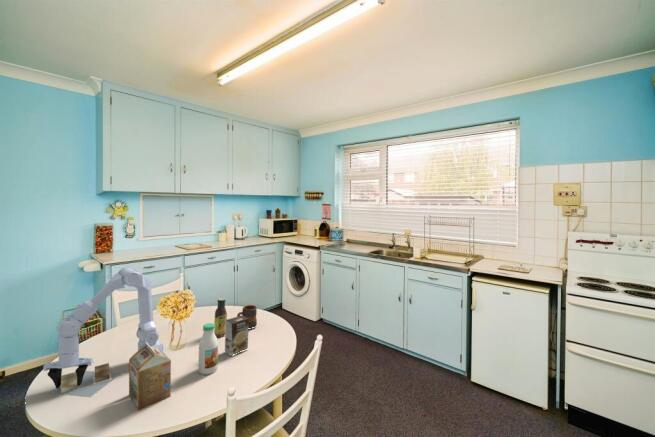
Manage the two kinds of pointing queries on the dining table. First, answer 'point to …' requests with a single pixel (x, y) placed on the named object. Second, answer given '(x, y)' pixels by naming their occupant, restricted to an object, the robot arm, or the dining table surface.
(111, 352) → the dining table surface
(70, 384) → the birch block
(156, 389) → the milk carton
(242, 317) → the coffee box
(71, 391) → the light blue flat plate
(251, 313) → the mug
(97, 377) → the walnut block
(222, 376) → the dining table surface
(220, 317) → the sauce bottle
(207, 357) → the milk bottle
